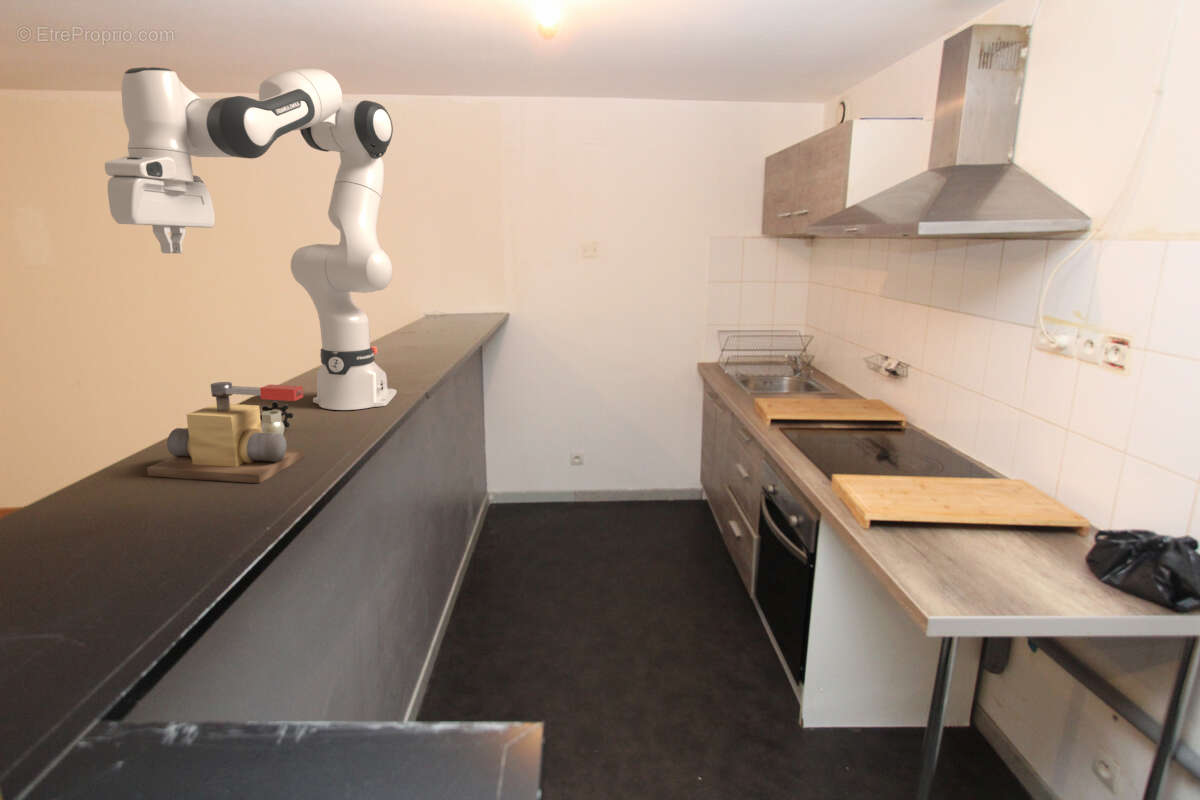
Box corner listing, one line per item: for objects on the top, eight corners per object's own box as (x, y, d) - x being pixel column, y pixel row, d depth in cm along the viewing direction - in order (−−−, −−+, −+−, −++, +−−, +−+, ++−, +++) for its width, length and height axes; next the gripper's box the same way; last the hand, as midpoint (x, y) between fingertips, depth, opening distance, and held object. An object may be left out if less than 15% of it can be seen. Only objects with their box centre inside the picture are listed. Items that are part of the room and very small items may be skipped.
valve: (291, 445, 128) (294, 429, 139) (289, 413, 127) (292, 400, 137) (254, 448, 126) (260, 431, 137) (251, 416, 124) (257, 401, 135)
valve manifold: (203, 450, 123) (196, 385, 120) (303, 456, 122) (298, 391, 119) (148, 476, 109) (137, 403, 106) (259, 483, 108) (252, 410, 105)
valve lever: (207, 396, 111) (206, 385, 111) (219, 392, 114) (218, 381, 114) (293, 401, 110) (293, 389, 109) (303, 397, 113) (302, 385, 113)
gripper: (187, 176, 119) (196, 252, 123) (94, 162, 100) (107, 253, 103) (220, 177, 119) (227, 253, 122) (133, 163, 99) (144, 254, 102)
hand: (172, 253), depth 112 cm, fingers closed
